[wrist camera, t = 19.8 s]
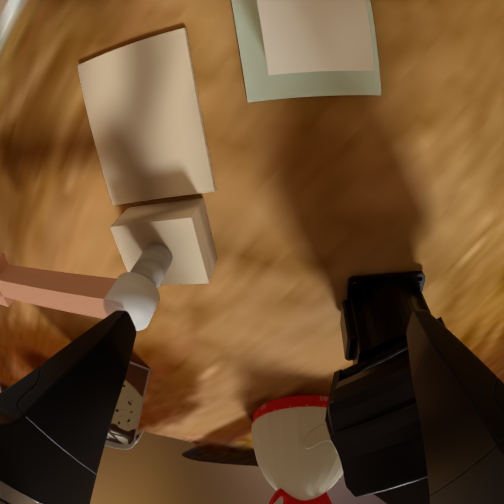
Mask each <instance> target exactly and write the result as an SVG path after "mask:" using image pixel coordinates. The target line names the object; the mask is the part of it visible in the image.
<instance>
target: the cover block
mask: <svg viewBox="0 0 504 504" xmlns="http://www.w3.org/2000/svg"><path fill="white" fill-rule="evenodd" d="M257 5H258V11H259V17H260V23H261V29H262V35H263V42H264V48H265V55H266V61H267V68H268V75H276V74H287V73H300V72H318V71H375V69H374V59H373V49H372V41H371V33H370V26H369V19H368V13H367V7H366V1H365V0H257Z"/></svg>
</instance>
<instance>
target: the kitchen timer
mask: <svg viewBox="0 0 504 504" xmlns="http://www.w3.org/2000/svg"><path fill="white" fill-rule="evenodd" d="M328 400H329V396H321V395H297V396H290V397H283V398H279V399H276V400H273V401H269V402H267V403H265V404H264V405H262V406H260V407H258V409H257V410H256V411H255V412H254V414H253V422H252V442H253V447H254V451H255V455H256V459H257V462H258V465H259V467H260V469H261V471H262V473H263V475H264V476H265V478H266V479H267V481H268V482H269V483H270V484H271V485H272V486H273V488H274V489H275V490H276V493H275V494H274V495H273V497H272V498H271V500H270V503H269V504H273V503H275V501H276V500H277V499H278V498H279V497H282V498H283V499H284V501H283V504H332V503H331V501H330V499H329V497H328V495H327V493H326V491H327V490H329V489H330V488H331V487H332V486H333V485H334V484H335V483H336V482H337V481H338V480H339V479H340V477H341V476H342V474H343V469H342V464H341V461H340V458H339V455H338V453H337V450H336V448H335V446H334V444H333V443H332V441H331V439H330V435H329V432H328V429H327V424H326V422H325V417H326V409H327V405H328Z"/></svg>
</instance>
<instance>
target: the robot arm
mask: <svg viewBox="0 0 504 504" xmlns="http://www.w3.org/2000/svg"><path fill="white" fill-rule="evenodd" d="M418 277H420V278H418ZM417 278H418V279H417ZM353 282H356V283H355V284H352V283H353ZM424 282H425V275H424V273H423V272H422V271H414V272H402V273H390V274H377V275H364V276H353V277H350V278H349V279H348V282H347V298H346V300H344V301H343V302H342V306H341V322H340V324H341V331H342V339H343V346H344V354H345V359H346V360H348V361H350V360H353V365H352V366H350V367H348V368H346V369H344V370H338V371H336V372H334V376H333V381H332V386H331V391H330V396H329V400H328V405H327V409H326V417H325V422H326V424H327V429H328V432H329V435H330V439H331V441H332V443H333V444H334V446H335V448H336V450H337V453H338V455H339V458H340V461H341V464H342V469H343V473H344V479H345V483H346V486H347V488H348V489H349V490H350V491H351V493H352V494H353V495H354V496H355V497H362V496H366V495H370V494H372V495H374V496H375V497H376V498H378V499H379V500H381V501H382V502H383V503H385V504H504V383H503V382H502V381H501V380H500V379H499V378H497V376H496V375H495V374H494V373H493V372H492V371H491V370H490V369H489V368H488V367H487V366H486V365H485V364H484V363H483V362H482V361H481V360H480V359H479V358H478V357H477V356H476V355H475V354H474V353H473V352H471V351H470V350H469V349H468V348H467V347H466V346H465V345H464V344H463V343H462V342H461V341H460V340H459V339H458V338H457V337H455V336H454V335H453V334H452V333H451V332H450V331H449V330H448V329H447V328H446V326H445V324H444V322H443V320H442V318H441V317H440V318H438V319H436V318H435V317H433V316H432V315H431V312H430V310H429V308H428V306H427V303H426V301H425V299H424V297H423V294H422V290H423V286H424ZM135 337H136V328H135V325H134V323H133V321H132V319H131V316H130V314H129V313H128V312H127V311H125V310H116V311H114V312H113V313H111V314H110V315H109V316H107V317H106V318H104V319H103V320H102V321H100V322H99V323H97V324H96V325H95V326H93V327H92V328H91V329H89V330H88V331H86V332H85V333H84V334H82V335H81V336H79V337H78V338H77V339H75V340H74V341H73V342H71V343H70V344H69V345H67V346H66V347H64V348H63V349H62V350H60V351H59V352H58V353H56V354H55V355H54V356H52V357H51V358H50V359H48V360H47V361H46V362H44V363H43V364H42V365H40V366H39V367H37V368H36V369H35V370H34V371H32V372H31V373H29V374H28V375H27V376H25V377H24V378H22V379H21V380H19V381H18V382H16V383H15V384H13V385H12V386H10V387H9V388H7V389H6V390H4V391H2V392H1V393H0V504H90V500H91V496H92V492H93V488H94V484H95V480H96V476H97V475H96V474H97V471H98V467H99V464H100V460H101V456H102V453H103V449H104V446H105V442H106V439H107V435H108V432H109V428H110V425H111V422H112V418H113V415H114V412H115V409H116V406H117V402H118V399H119V396H120V393H121V390H122V387H123V384H124V381H125V378H126V375H127V371H128V367H129V363H130V358H131V354H132V350H133V346H134V341H135Z"/></svg>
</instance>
